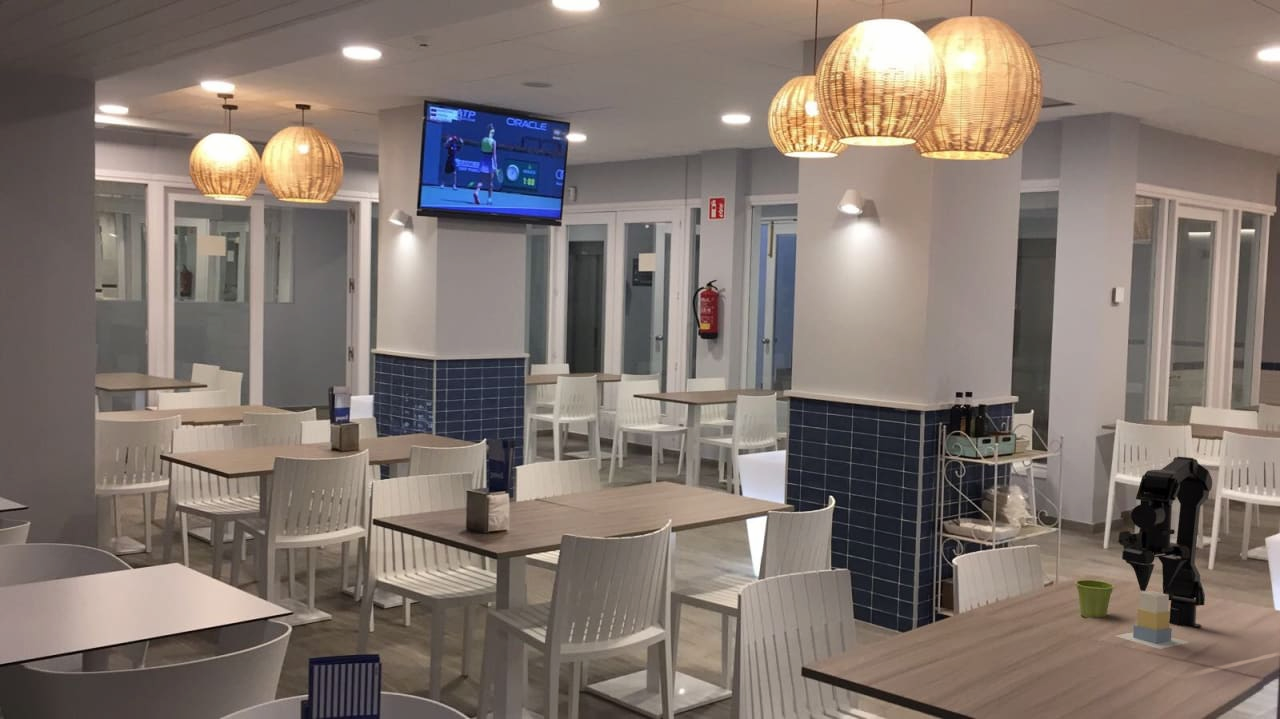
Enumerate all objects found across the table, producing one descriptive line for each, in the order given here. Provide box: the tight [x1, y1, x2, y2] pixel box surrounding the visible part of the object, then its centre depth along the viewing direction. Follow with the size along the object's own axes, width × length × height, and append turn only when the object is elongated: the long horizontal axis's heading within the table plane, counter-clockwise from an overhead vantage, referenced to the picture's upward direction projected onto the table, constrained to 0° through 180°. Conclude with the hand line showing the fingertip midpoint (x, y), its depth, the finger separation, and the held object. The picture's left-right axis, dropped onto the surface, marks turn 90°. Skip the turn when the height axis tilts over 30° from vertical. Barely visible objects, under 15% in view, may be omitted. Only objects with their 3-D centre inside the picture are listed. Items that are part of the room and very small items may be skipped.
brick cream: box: [1138, 590, 1170, 614], centre depth 273 cm, size 4×4×4 cm
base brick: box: [1132, 624, 1173, 644], centre depth 274 cm, size 6×6×3 cm
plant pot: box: [1075, 579, 1115, 619], centre depth 296 cm, size 9×9×9 cm
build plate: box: [1115, 631, 1191, 650], centre depth 274 cm, size 12×12×1 cm
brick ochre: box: [1136, 608, 1170, 631], centre depth 273 cm, size 5×5×4 cm
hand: (1154, 588), depth 273 cm, fingers open, 9 cm apart
